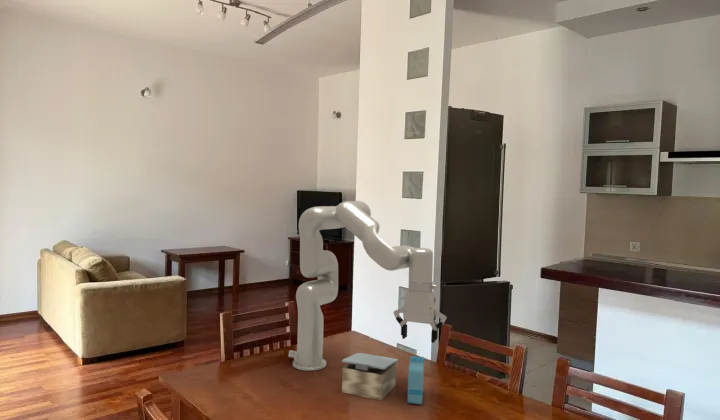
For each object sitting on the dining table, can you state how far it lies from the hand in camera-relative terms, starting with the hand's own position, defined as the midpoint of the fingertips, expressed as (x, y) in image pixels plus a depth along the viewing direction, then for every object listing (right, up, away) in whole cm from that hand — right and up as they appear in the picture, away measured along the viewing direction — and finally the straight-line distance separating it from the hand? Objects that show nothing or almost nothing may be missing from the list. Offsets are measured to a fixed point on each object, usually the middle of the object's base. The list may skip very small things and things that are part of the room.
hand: (418, 339), depth 163 cm
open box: (-16, -18, +7) cm, 25 cm away
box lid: (-16, -10, +6) cm, 20 cm away
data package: (-1, -19, +1) cm, 19 cm away
